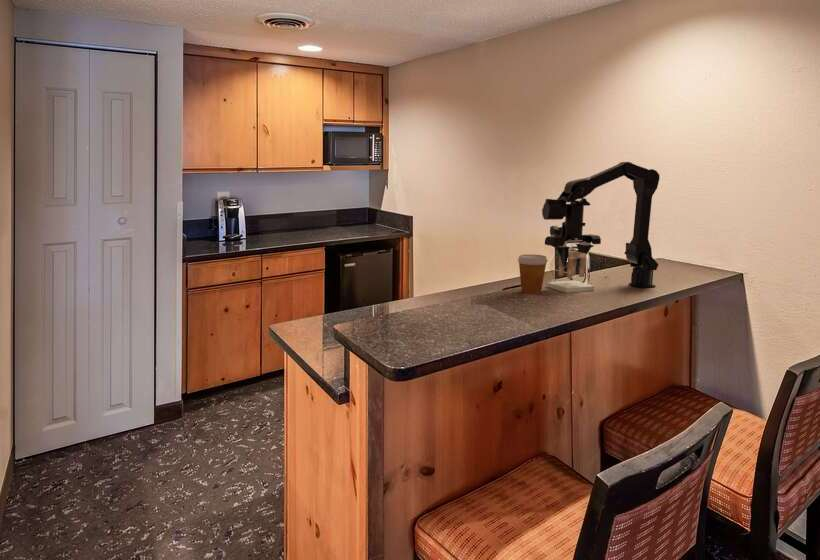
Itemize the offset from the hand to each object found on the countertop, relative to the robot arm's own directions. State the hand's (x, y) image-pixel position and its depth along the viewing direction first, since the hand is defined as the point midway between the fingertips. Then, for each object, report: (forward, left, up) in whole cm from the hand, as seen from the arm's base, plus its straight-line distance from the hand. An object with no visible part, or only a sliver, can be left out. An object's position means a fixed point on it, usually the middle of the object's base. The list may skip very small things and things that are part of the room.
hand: (571, 265), depth 191 cm
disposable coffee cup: (+16, +1, -8) cm, 18 cm away
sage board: (0, 0, -8) cm, 8 cm away
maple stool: (0, 0, -4) cm, 4 cm away
